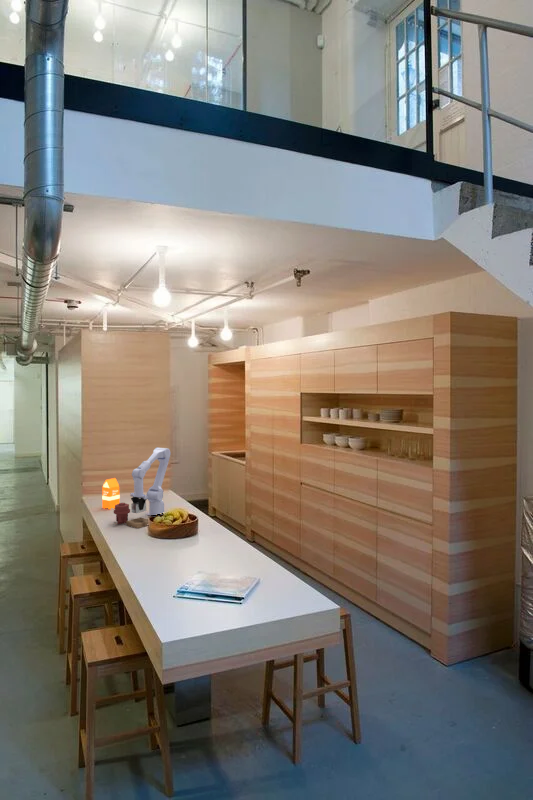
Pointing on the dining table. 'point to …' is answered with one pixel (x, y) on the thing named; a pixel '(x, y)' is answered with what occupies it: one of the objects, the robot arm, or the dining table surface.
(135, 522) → the stand
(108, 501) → the orange juice
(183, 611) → the dining table surface
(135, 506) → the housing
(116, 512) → the mechanical component
